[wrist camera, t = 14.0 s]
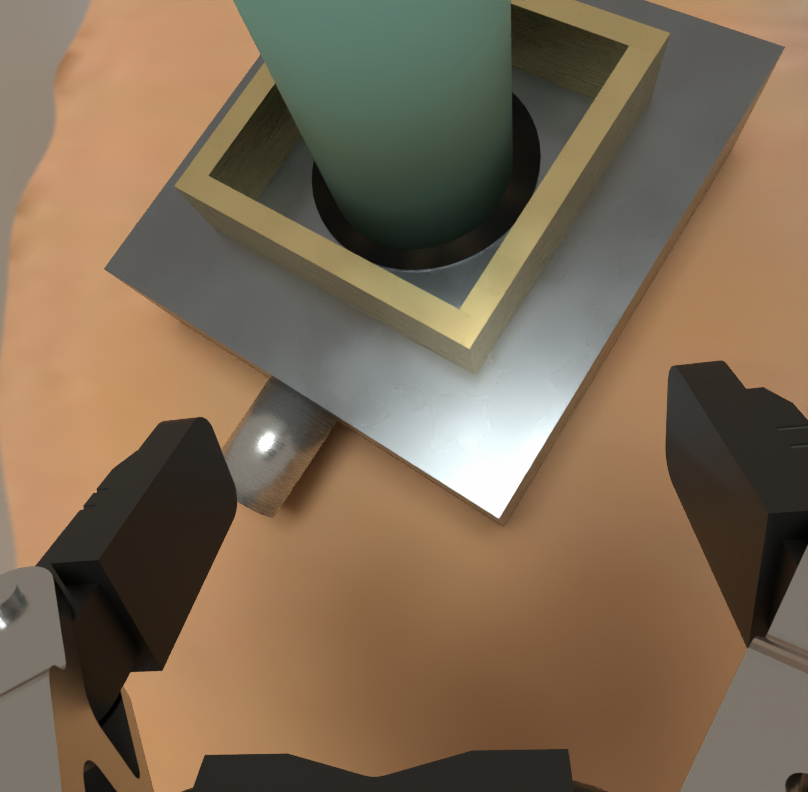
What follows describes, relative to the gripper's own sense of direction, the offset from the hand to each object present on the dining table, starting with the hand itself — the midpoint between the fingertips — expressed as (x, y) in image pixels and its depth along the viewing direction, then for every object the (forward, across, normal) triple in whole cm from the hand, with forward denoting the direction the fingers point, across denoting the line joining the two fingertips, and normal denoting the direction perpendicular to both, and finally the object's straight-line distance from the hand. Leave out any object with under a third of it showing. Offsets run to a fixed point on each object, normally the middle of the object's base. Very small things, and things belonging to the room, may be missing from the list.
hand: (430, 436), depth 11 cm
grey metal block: (+15, +2, +2) cm, 15 cm away
